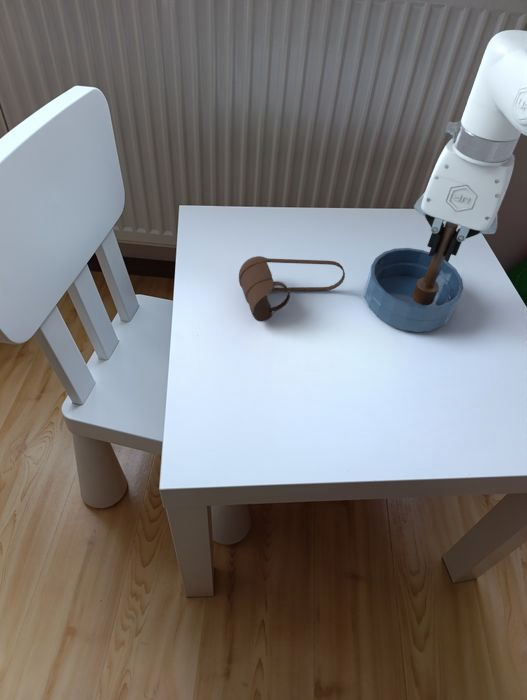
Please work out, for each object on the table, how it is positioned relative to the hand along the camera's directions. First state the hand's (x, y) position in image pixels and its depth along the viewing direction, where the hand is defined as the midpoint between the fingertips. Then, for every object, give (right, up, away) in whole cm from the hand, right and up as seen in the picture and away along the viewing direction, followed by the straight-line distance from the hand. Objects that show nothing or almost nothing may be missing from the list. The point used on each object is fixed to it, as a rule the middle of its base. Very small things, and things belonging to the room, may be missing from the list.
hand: (440, 253), depth 83 cm
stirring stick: (-1, -6, +7) cm, 10 cm away
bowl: (-3, -7, +10) cm, 12 cm away
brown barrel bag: (-23, -6, +9) cm, 25 cm away
